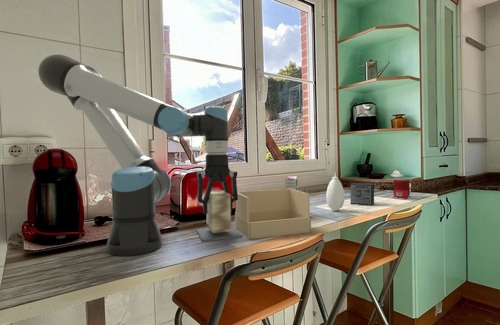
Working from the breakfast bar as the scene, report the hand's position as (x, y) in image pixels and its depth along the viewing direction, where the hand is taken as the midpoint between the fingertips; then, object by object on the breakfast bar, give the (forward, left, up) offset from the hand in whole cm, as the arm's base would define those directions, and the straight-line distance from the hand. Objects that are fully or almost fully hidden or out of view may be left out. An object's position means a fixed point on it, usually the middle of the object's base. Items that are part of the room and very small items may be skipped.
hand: (218, 222), depth 101 cm
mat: (0, 0, -4) cm, 4 cm away
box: (0, -1, -2) cm, 2 cm away
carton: (+19, -1, -4) cm, 19 cm away
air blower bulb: (+58, +18, -4) cm, 61 cm away
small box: (+80, +27, -4) cm, 85 cm away
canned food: (+112, +34, -4) cm, 117 cm away
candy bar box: (+36, +17, -4) cm, 40 cm away
